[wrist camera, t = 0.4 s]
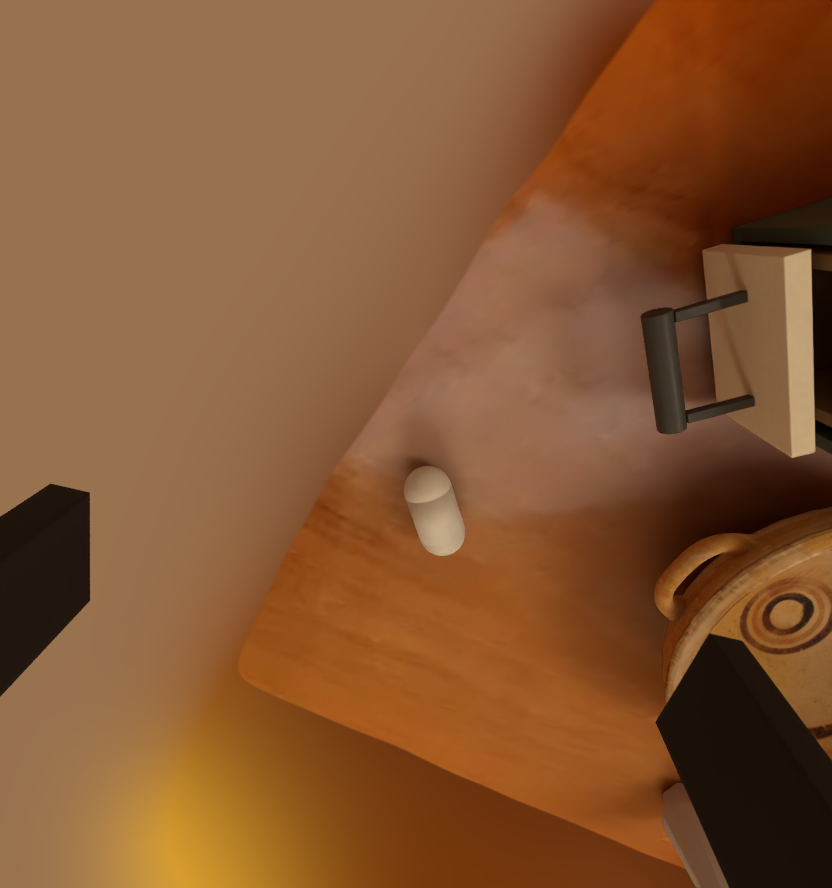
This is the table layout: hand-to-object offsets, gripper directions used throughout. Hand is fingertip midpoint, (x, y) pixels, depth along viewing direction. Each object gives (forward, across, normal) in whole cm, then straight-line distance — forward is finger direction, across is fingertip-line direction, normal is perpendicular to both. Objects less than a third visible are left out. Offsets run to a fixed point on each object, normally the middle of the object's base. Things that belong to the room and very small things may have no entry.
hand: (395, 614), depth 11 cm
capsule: (+25, +4, -11) cm, 28 cm away
